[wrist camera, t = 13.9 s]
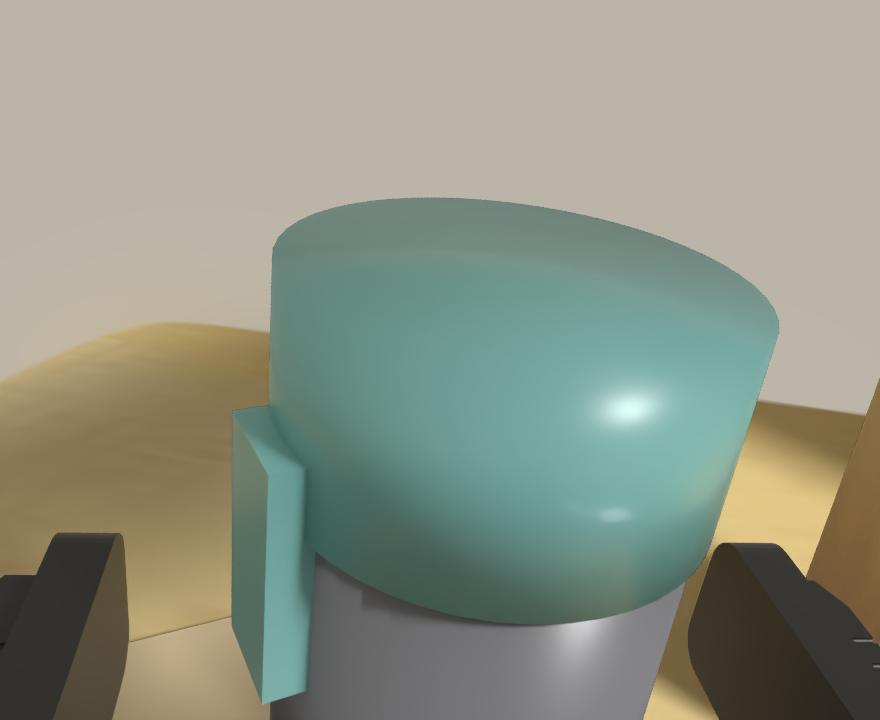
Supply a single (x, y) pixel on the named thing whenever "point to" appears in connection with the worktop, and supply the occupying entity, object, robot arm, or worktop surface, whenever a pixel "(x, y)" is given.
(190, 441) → the worktop surface
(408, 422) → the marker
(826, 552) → the skincare box
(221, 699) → the beige flat board
